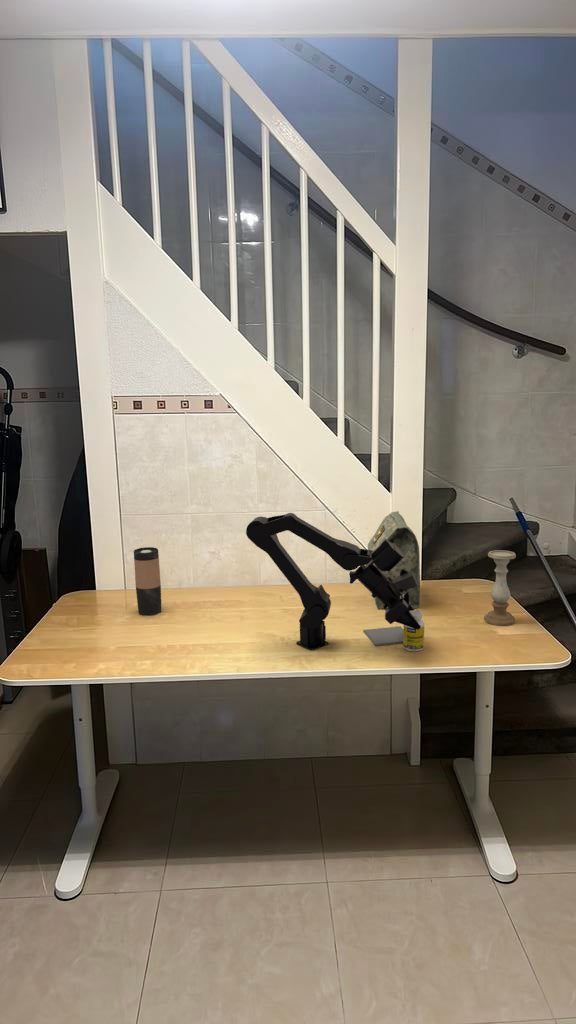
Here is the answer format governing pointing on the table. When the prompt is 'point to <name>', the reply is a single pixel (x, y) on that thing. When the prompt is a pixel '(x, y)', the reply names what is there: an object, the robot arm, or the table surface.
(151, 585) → the travel mug
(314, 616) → the robot arm
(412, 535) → the bag
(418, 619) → the supplement bottle
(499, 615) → the candle holder
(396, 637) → the mat
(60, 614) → the table surface
